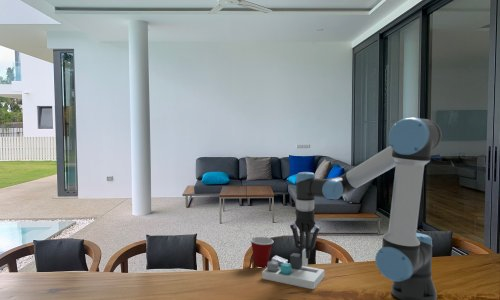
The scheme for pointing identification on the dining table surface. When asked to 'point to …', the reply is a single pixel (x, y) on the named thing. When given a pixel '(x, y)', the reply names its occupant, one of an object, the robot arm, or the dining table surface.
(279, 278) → the panel
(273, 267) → the grey button
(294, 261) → the slider knob
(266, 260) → the plastic cup
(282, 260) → the white block with nub
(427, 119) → the robot arm
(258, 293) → the dining table surface
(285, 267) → the teal button
